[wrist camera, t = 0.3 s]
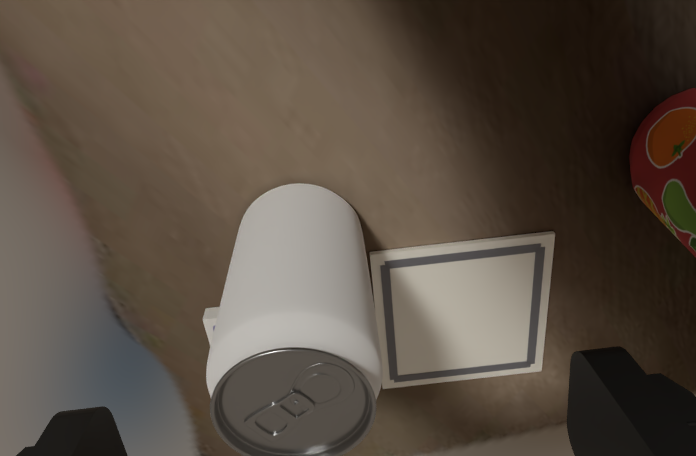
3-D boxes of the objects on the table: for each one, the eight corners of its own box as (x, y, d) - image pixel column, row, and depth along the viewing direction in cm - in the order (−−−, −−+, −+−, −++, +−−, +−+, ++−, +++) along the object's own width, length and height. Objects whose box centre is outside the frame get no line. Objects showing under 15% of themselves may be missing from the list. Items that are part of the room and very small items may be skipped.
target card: (369, 252, 30) (370, 255, 29) (553, 231, 30) (555, 234, 29) (382, 385, 35) (382, 389, 34) (539, 367, 35) (541, 371, 34)
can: (387, 237, 29) (427, 413, 19) (299, 304, 31) (292, 498, 21) (303, 154, 27) (296, 304, 16) (213, 232, 29) (155, 412, 18)
